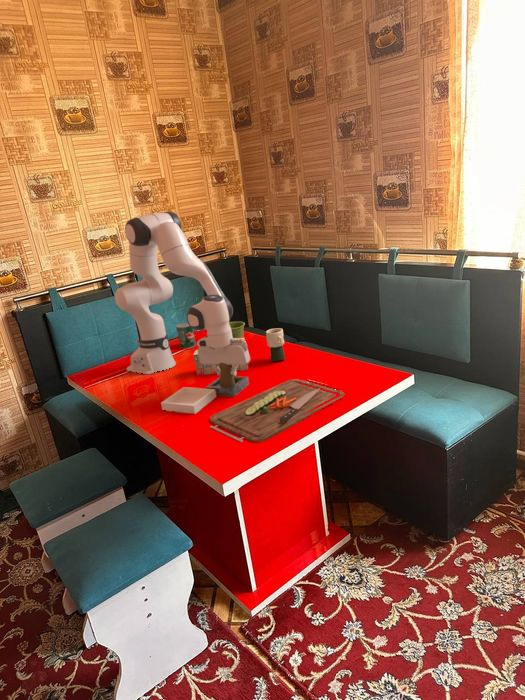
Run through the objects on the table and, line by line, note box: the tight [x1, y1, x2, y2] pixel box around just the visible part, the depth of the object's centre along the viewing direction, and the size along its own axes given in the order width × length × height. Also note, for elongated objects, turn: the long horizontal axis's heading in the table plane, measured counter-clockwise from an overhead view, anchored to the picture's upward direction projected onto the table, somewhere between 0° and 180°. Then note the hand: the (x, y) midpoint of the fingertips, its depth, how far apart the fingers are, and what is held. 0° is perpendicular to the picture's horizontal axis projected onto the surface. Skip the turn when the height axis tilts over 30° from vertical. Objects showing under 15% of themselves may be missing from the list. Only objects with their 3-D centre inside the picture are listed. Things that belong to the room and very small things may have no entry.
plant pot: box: [229, 321, 246, 338], centre depth 236 cm, size 12×12×11 cm
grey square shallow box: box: [205, 375, 250, 398], centre depth 190 cm, size 12×12×3 cm
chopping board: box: [209, 378, 345, 443], centre depth 169 cm, size 45×27×3 cm, turn 131°
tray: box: [160, 386, 217, 415], centre depth 182 cm, size 14×14×3 cm
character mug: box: [265, 327, 286, 362], centre depth 212 cm, size 11×7×13 cm, turn 27°
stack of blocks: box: [193, 337, 249, 376], centre depth 210 cm, size 21×6×12 cm, turn 89°
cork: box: [219, 363, 235, 387], centre depth 188 cm, size 6×6×11 cm
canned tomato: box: [175, 322, 197, 350], centre depth 250 cm, size 8×8×11 cm
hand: (227, 375), depth 188 cm, fingers closed on cork, 5 cm apart
